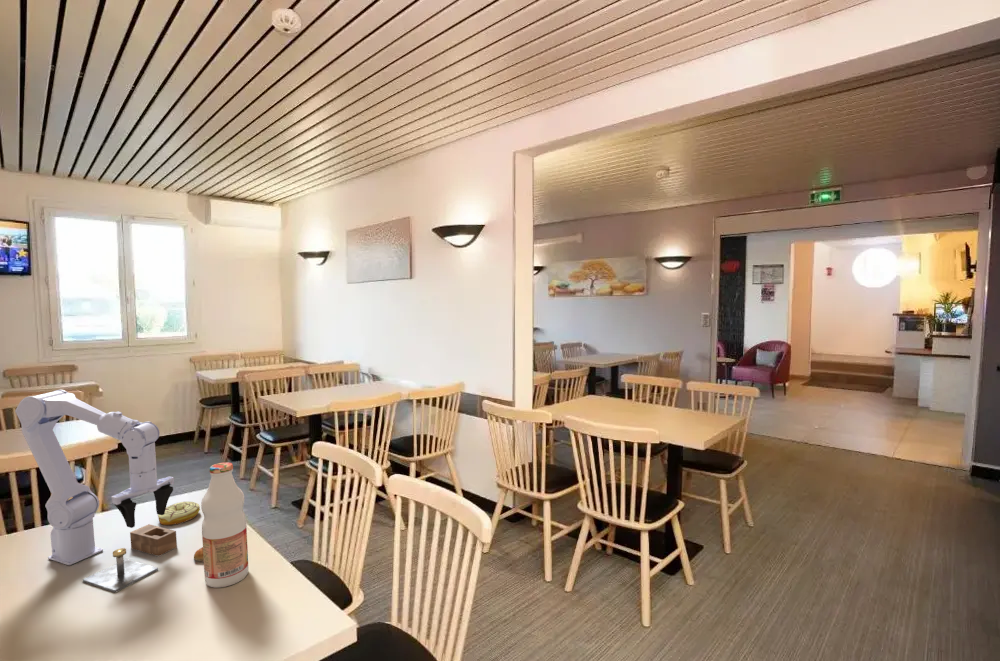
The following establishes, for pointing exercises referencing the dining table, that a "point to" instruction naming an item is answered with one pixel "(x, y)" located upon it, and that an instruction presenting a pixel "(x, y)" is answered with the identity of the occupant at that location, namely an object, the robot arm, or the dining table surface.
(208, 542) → the fruit juice
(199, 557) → the pastry
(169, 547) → the block
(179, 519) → the decorated donut
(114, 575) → the hook plate
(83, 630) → the dining table surface
